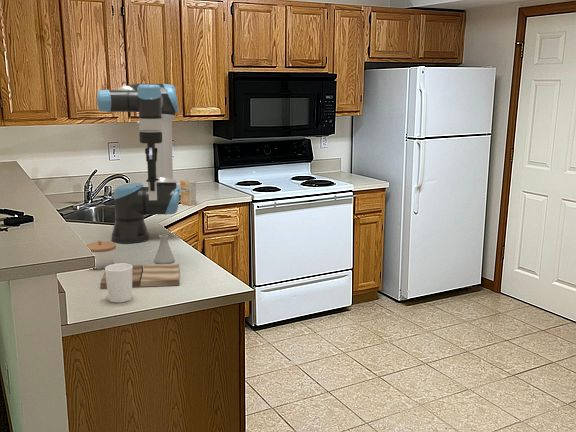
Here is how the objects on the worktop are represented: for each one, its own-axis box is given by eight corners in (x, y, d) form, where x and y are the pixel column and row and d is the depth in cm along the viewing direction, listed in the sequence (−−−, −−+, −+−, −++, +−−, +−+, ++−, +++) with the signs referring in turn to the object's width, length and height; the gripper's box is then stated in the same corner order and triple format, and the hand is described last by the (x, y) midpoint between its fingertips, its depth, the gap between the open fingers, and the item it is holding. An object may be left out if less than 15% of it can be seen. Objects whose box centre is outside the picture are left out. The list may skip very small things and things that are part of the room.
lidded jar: (115, 260, 215) (114, 236, 213) (118, 269, 205) (117, 243, 203) (84, 263, 211) (83, 238, 209) (86, 272, 201) (84, 245, 199)
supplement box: (180, 203, 323) (179, 180, 320) (186, 202, 327) (186, 179, 324) (190, 205, 318) (189, 182, 315) (196, 204, 322) (196, 181, 319)
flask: (165, 257, 219) (165, 232, 217) (178, 261, 215) (178, 235, 213) (150, 261, 214) (149, 235, 212) (163, 265, 209) (162, 238, 207)
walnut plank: (107, 271, 202) (107, 266, 201) (143, 270, 204) (143, 264, 203) (100, 288, 184) (100, 282, 184) (139, 287, 186) (139, 281, 186)
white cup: (101, 298, 176) (100, 266, 174) (125, 292, 181) (124, 261, 179) (114, 305, 170) (113, 272, 168) (138, 299, 176) (137, 267, 174)
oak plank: (144, 269, 204) (144, 264, 203) (179, 268, 206) (179, 263, 205) (140, 286, 186) (140, 281, 186) (179, 285, 188) (178, 279, 188)
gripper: (140, 129, 203) (143, 196, 208) (137, 132, 190) (140, 203, 195) (162, 130, 204) (164, 196, 209) (161, 132, 192) (163, 203, 196)
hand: (153, 199), depth 202 cm, fingers closed
